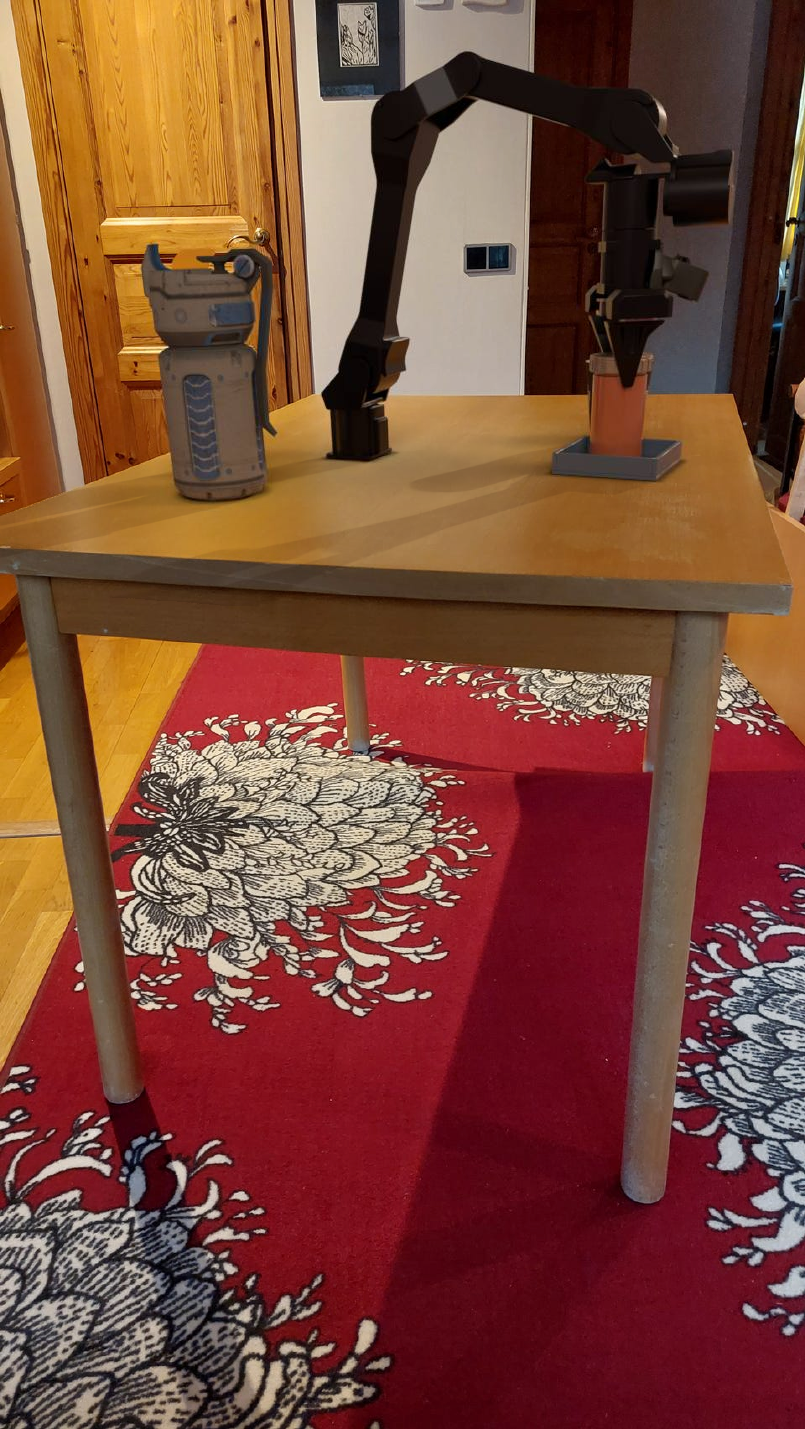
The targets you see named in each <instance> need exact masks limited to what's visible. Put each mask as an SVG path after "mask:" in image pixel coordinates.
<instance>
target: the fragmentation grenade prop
mask: <svg viewBox="0 0 805 1429" xmlns="http://www.w3.org/2000/svg"><path fill="white" fill-rule="evenodd" d="M196 259H197V260H198V261H200V262H202V263H209V264H210V263H211V264H212V265H213V268H212V267H211V268H209V267H208V268H201V269H174V270H172V269H171V268H170V267H167V266H166V265H164V263H163V261H162V259H161V257H160V252H159V243H152V244H147V245H146V249H145V251H144V254H143V258H142V262H141V266H140V271H141V279H142V287H143V295H144V296H145V297H146V298H148V305H149V307H150V309H152V310H151V311H152V312H151V313H152V319H153V329H154V332H155V333H156V334H157V335H158V337H159V338H160V340H161V341H162V342H163V343H164V345H165V346H168V347H166V348H164V349H163V350H161V351H160V352H159V353H158V354H157V360H158V368H159V377H160V383H161V391H162V399H163V408H164V414H165V415H164V416H165V423H166V431H167V437H168V445H169V454H170V460H171V461H170V462H171V468H172V469H171V470H172V477H173V483H174V484H173V485H174V486H175V488H176V489H177V491H178V492H179V494H180V495H182V496H183V497H184V496H185V497H187V498H190V499H192V500H196V501H204V502H205V501H206V502H219V501H220V502H221V501H231V500H238V499H243V498H247V497H250V496H253V495H255V494H256V493H258V492H260V491H262V490H263V489H264V488H265V485H266V483H267V481H268V470H267V459H266V446H265V437H264V430H265V431H266V432H267V433H268V434H270V435H271V436H272V437H274V438H276V435H277V434H278V431H277V429H275V427H274V426H273V425H272V423H271V421H270V408H269V407H270V406H269V392H268V391H269V390H268V377H267V365H268V364H267V363H268V353H269V352H268V351H269V340H270V329H271V318H272V308H273V307H272V305H273V304H272V303H273V294H274V278H273V277H274V276H273V262H272V260H271V259H270V258H269V257H267V256H266V255H265V254H263V253H262V252H261V251H259V250H258V249H256V248H253V247H252V248H231V249H229V250H228V252H226V253H225V254H223V255H214V256H196ZM232 261H233V264H232V265H233V272H230V273H229V270H228V269H226V265H227V263H232ZM259 279H260V284H261V286H260V288H261V289H260V303H259V316H258V330H257V343H256V344H257V346H256V349H255V348H254V347H253V346H251V345H248V344H247V343H245V342H248V339H249V337H250V336H251V333H252V331H253V329H254V327H255V322H256V311H255V302H254V301H253V299H252V291H253V289H254V288H255V286H256V285H257V283H258V281H259Z"/></svg>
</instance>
